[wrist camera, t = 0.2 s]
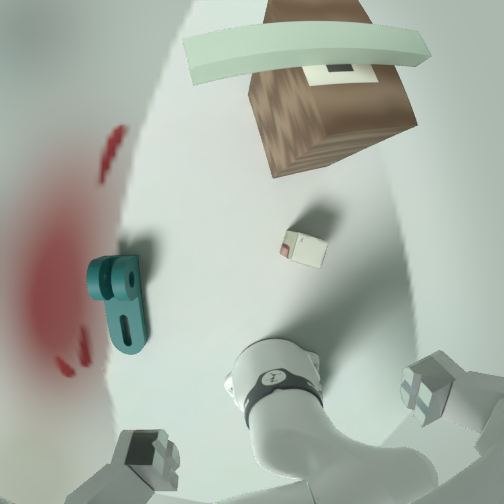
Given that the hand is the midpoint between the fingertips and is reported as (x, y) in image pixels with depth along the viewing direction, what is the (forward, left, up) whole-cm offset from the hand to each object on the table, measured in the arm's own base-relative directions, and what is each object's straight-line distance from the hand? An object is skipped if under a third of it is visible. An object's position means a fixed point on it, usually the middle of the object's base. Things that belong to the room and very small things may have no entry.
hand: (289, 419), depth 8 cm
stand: (+19, -14, -40) cm, 46 cm away
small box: (-1, -10, -40) cm, 41 cm away
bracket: (-3, +22, -40) cm, 46 cm away
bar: (+19, -11, -14) cm, 26 cm away
